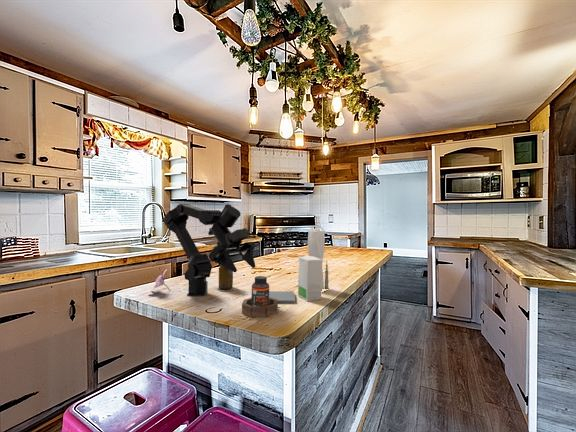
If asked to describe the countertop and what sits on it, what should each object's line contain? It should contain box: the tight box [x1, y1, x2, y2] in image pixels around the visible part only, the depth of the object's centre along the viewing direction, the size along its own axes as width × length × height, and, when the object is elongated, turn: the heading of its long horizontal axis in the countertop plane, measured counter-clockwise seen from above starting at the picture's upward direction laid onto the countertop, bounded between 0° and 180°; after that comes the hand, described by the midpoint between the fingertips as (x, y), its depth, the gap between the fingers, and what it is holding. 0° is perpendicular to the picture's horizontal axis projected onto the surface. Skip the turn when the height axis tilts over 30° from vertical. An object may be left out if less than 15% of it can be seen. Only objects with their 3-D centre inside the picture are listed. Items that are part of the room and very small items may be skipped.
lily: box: [148, 268, 171, 296], centre depth 115 cm, size 12×12×10 cm
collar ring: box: [241, 297, 279, 318], centre depth 94 cm, size 12×12×3 cm
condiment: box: [213, 264, 239, 292], centre depth 122 cm, size 7×8×12 cm
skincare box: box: [297, 255, 323, 302], centre depth 109 cm, size 8×7×16 cm
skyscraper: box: [307, 225, 330, 291], centre depth 120 cm, size 8×8×28 cm
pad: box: [269, 290, 296, 304], centre depth 108 cm, size 12×12×1 cm
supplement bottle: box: [250, 275, 270, 306], centre depth 94 cm, size 6×6×11 cm
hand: (245, 269), depth 98 cm, fingers open, 9 cm apart
